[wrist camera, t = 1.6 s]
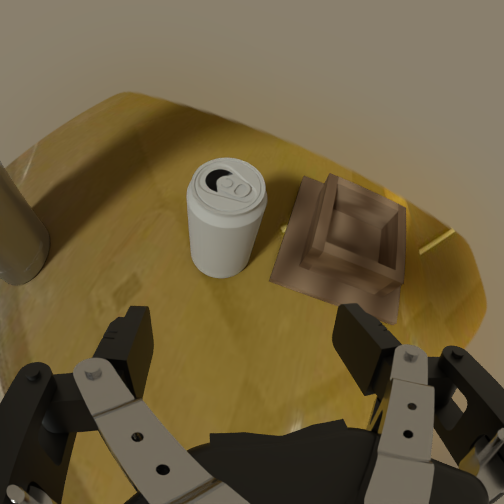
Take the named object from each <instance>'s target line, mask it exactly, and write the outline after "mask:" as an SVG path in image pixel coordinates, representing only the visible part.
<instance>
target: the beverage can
mask: <svg viewBox="0 0 504 504" xmlns="http://www.w3.org/2000/svg"><path fill="white" fill-rule="evenodd" d="M266 204H267V193H266V189H265V182H264V179H263V177H262V175H261V174H260V172H259V171H258V170H257V169H256V168H255V167H253V166H252V165H251V164H249V163H247V162H245V161H242V160H239V159H234V158H218V159H214V160H211V161H208V162H206V163H204V164H203V165H201V166H200V167H199V168H198V169H197V170H196V172H195V173H194V175H193V177H192V180H191V182H190V184H189V186H188V189H187V209H188V223H189V235H190V247H191V256H192V259H193V262H194V264H195V265H196V267H197V268H198V269H199V270H200V271H201V272H203V273H204V274H206V275H208V276H211V277H215V278H228V277H231V276H234V275H236V274H238V273H239V272H241V271H242V270H243V269H244V267H245V266H246V265H247V263H248V261H249V257H250V254H251V251H252V248H253V245H254V242H255V239H256V236H257V233H258V229H259V226H260V223H261V220H262V217H263V214H264V211H265V208H266Z"/></svg>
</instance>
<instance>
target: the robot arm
mask: <svg viewBox="0 0 504 504" xmlns="http://www.w3.org/2000/svg"><path fill="white" fill-rule="evenodd" d="M49 246H50V238H49V234H48V231H47V229H46V227H45V226H44V225H43V223H42V222H41V221H40V219H39V218H38V217H37V215H36V214H35V213H34V211H33V210H32V208H31V207H30V206H29V204H28V203H27V201H26V200H25V198H24V197H23V196H22V194H21V193H20V191H19V190H18V188H17V187H16V185H15V184H14V182H13V181H12V179H11V178H10V176H9V174H8V173H7V171H6V170H5V168H4V166H3V165H2V163H1V161H0V278H1V279H3V280H4V281H5V282H7V283H8V284H11V285H22V284H24V283H26V282H28V281H30V280H31V279H32V278H34V277H35V276H36V274H37V273H38V272H39V271H40V269H41V268H42V266H43V265H44V263H45V260H46V258H47V255H48V252H49ZM332 342H333V346H334V348H335V350H336V351H337V353H338V354H339V356H340V358H341V359H342V361H343V362H344V364H345V366H346V367H347V369H348V370H349V372H350V374H351V375H352V377H353V378H354V380H355V382H356V383H357V385H358V386H359V388H360V390H361V391H362V393H363V394H364V396H367V395H371V394H375V393H376V395H377V397H376V399H375V401H374V405H373V408H372V412H371V415H370V419H369V422H368V425H367V428H366V430H365V429H359V428H347V426H346V424H345V422H344V420H343V419H341V420H336V421H331V422H326V423H320V424H314V425H311V426H309V427H306V428H303V429H301V430H298V431H295V432H292V433H290V434H287V435H283V436H274V435H263V434H254V433H246V432H241V433H210V443H206V444H202V445H199V446H196V447H194V448H191V449H189V450H187V451H186V450H185V449H184V448H183V447H182V446H181V445H180V444H179V443H178V441H177V440H176V439H175V438H174V437H173V436H172V435H171V434H170V433H169V431H168V430H167V429H166V428H165V427H164V426H163V425H162V423H161V422H160V421H159V420H158V419H157V417H156V416H155V415H154V414H153V412H152V411H151V410H150V409H149V408H148V406H147V405H146V404H145V402H144V401H143V400H142V398H143V393H144V389H145V385H146V380H147V376H148V372H149V367H150V363H151V359H152V355H153V349H154V341H153V333H152V326H151V318H150V310H149V307H148V306H130V307H129V309H128V311H127V313H126V315H125V317H118V318H116V319H115V320H114V321H113V322H111V323H110V325H109V326H108V328H107V330H106V332H105V334H104V336H103V338H102V340H101V342H100V343H99V345H98V347H97V349H96V351H95V353H94V355H93V357H92V358H89V359H86V360H83V361H81V362H80V363H78V364H77V365H76V367H75V368H74V371H73V373H67V374H54V375H53V373H52V371H51V369H50V367H49V366H48V365H47V364H45V363H41V362H34V363H30V364H27V365H26V366H24V367H23V368H21V369H20V371H19V372H18V374H17V375H16V377H15V379H14V380H13V382H12V384H11V386H10V387H9V389H8V391H7V393H6V394H5V396H4V398H3V400H2V402H1V403H0V504H61V501H62V496H63V490H64V485H65V480H66V475H67V470H68V466H69V462H70V457H71V453H72V449H73V445H74V441H75V438H76V434H77V432H85V431H96V430H98V431H99V433H100V435H101V437H102V439H103V440H104V442H105V444H106V446H107V447H108V449H109V451H110V452H111V454H112V455H113V457H114V459H115V460H116V462H117V463H118V465H119V467H120V468H121V470H122V471H123V473H124V474H125V476H126V477H127V479H128V480H129V482H130V483H131V484H132V486H133V487H134V489H135V490H136V491H137V493H136V494H135V495H133V496H132V497H131V498H130V499H129V500H127V501H126V502H125V503H124V504H492V503H494V502H495V501H497V500H498V499H499V498H500V497H502V496H503V495H504V389H503V388H502V386H501V385H500V384H499V383H498V382H497V381H496V380H495V379H494V378H493V377H492V376H491V375H490V374H489V373H488V372H487V371H486V370H485V369H484V368H483V367H482V366H481V365H480V364H479V363H478V362H477V361H476V360H475V359H474V358H473V357H472V356H471V355H470V354H469V353H468V352H467V351H466V350H464V349H462V348H460V347H457V346H447V347H445V348H444V349H443V351H442V353H441V356H440V357H427V354H426V353H425V352H424V351H423V350H422V349H420V348H418V347H416V346H413V345H402V344H401V343H400V342H399V341H398V340H397V339H396V338H395V337H394V336H393V335H392V334H391V332H390V331H389V330H388V331H387V328H386V327H385V326H384V325H382V323H381V322H380V321H379V320H378V319H377V318H376V317H374V316H372V315H370V314H369V313H366V312H365V311H364V310H363V309H362V308H361V307H360V306H359V304H357V303H349V304H340V305H339V307H338V311H337V315H336V320H335V325H334V330H333V335H332ZM457 388H458V389H459V390H460V391H461V392H462V394H463V395H464V396H465V397H466V399H467V404H468V405H467V408H466V411H465V412H464V413H463V412H462V411H461V410H460V408H459V407H458V406H457V404H456V403H455V402H454V401H453V399H452V398H451V397H452V396H453V394H454V392H455V390H456V389H457ZM433 427H434V429H435V430H436V432H437V434H438V435H439V436H440V438H441V440H442V441H443V442H444V444H445V446H446V448H447V449H448V451H449V452H450V454H451V456H452V457H453V459H454V460H455V462H456V463H457V465H458V467H459V469H457V468H455V467H452V466H449V465H447V464H444V463H442V462H439V461H437V460H434V459H432V458H431V449H432V438H433Z"/></svg>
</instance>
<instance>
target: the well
mask: <svg viewBox="0 0 504 504" xmlns="http://www.w3.org/2000/svg"><path fill="white" fill-rule="evenodd" d="M405 251H406V208H405V207H403V206H401V205H399V204H397V203H395V202H393V201H391V200H389V199H387V198H385V197H383V196H381V195H379V194H376V193H374V192H372V191H370V190H368V189H365V188H363V187H361V186H359V185H357V184H354V183H352V182H350V181H347V180H345V179H343V178H340V177H338V176H335V175H333V174H331V173H330V174H329V176H328V178H327V179H326V181H325V183H321V182H319V181H316V180H313V179H311V178H308V177H306V176H304V177H303V179H302V182H301V185H300V189H299V192H298V195H297V198H296V201H295V204H294V207H293V210H292V214H291V217H290V220H289V223H288V226H287V229H286V232H285V235H284V238H283V241H282V244H281V247H280V250H279V253H278V256H277V259H276V262H275V265H274V268H273V271H272V274H271V277H270V280H269V281H270V282H273V283H275V284H278V285H281V286H284V287H286V288H289V289H292V290H295V291H297V292H300V293H303V294H306V295H308V296H311V297H314V298H317V299H320V300H322V301H325V302H328V303H331V304H334V305H336V306H339V305H340V304H349V303H357V304H359V306H360V307H361V308H362V309H363V310H364V311H365V312H366V313H369V314H370V315H372V316H374V317H376V318H377V319H378V320H379V321H382V322H385V323H388V324H391V325H394V324H396V323H397V315H398V307H399V298H400V287H401V285H402V284H404V271H405Z"/></svg>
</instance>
